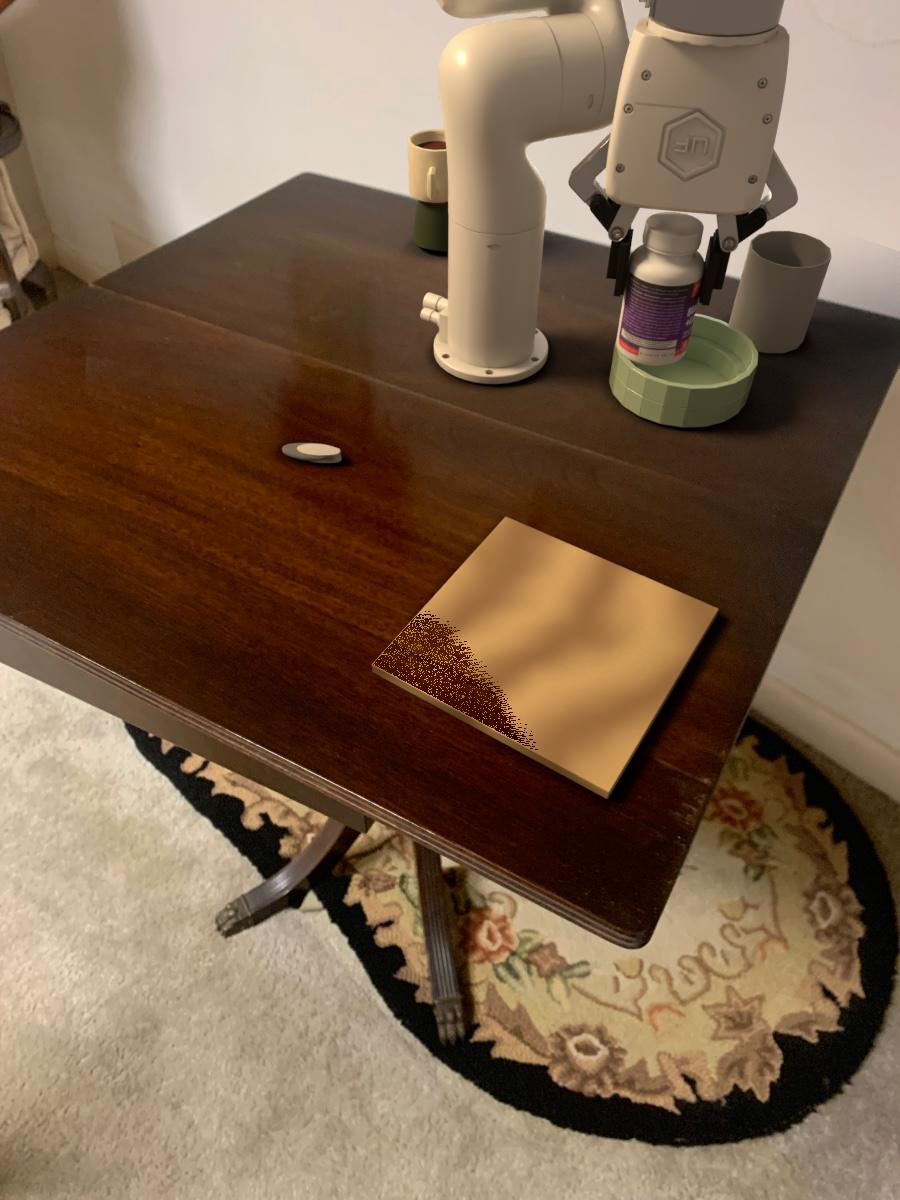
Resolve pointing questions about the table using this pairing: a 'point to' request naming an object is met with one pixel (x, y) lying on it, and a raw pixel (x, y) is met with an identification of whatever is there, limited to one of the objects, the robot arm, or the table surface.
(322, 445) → the oval pebble
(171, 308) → the table surface
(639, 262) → the pill bottle
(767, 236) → the cup
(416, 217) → the character mug
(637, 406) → the bowl
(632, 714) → the mat
